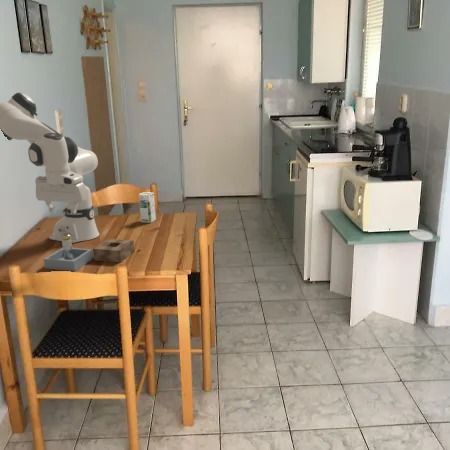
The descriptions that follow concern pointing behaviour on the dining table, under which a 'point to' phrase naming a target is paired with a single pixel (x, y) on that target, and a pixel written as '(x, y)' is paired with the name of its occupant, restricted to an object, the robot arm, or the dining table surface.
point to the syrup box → (147, 207)
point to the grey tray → (60, 263)
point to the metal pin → (67, 246)
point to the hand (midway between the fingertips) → (63, 212)
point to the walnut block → (113, 250)
